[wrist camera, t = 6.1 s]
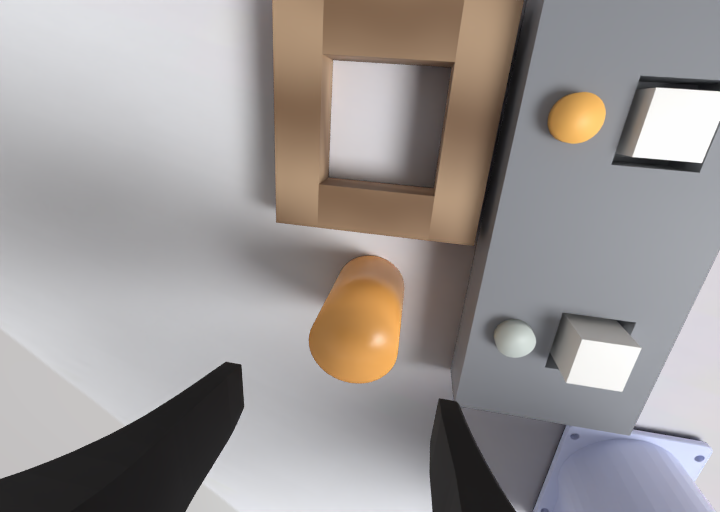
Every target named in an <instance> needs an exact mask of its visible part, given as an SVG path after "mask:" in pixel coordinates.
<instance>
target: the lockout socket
mask: <svg viewBox="0 0 720 512" xmlns="http://www.w3.org/2000/svg"><path fill="white" fill-rule="evenodd" d="M523 2H524V0H272V14H273V69H274V125H275V180H276V222H277V223H285V224H294V225H302V226H310V227H319V228H327V229H335V230H344V231H352V232H360V233H369V234H377V235H386V236H394V237H402V238H411V239H419V240H427V241H436V242H444V243H453V244H461V245H469V246H474V243H475V238H476V233H477V228H478V223H479V218H480V213H481V208H482V204H483V199H484V194H485V189H486V184H487V179H488V174H489V169H490V164H491V159H492V154H493V150H494V145H495V140H496V135H497V130H498V125H499V120H500V115H501V110H502V105H503V100H504V96H505V91H506V86H507V81H508V76H509V71H510V66H511V61H512V56H513V51H514V47H515V42H516V37H517V32H518V27H519V22H520V17H521V12H522V7H523ZM333 60H340V61H356V62H372V63H389V64H405V65H421V66H438V67H452V68H451V75H450V81H449V88H448V95H447V101H446V108H445V115H444V122H443V128H442V135H441V142H440V148H439V155H438V162H437V169H436V175H435V182H434V188H427V187H417V186H407V185H397V184H387V183H377V182H368V181H358V180H348V179H338V178H329V151H330V124H331V97H332V71H333Z"/></svg>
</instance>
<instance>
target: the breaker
mask: <svg viewBox="0 0 720 512" xmlns="http://www.w3.org/2000/svg"><path fill="white" fill-rule="evenodd" d="M641 349H642V348H641V347H640V346H639V344H638V343H637V342H636V341H635V340H634V339H633V338H632V337H631V336H630V335H629V334H628V333H627V331H626V330H625V329H624V328H623V327H622V326H621V325H620V324H619V323H618V322H617V321H616V320H614V319H607V318H599V317H592V316H585V315H578V314H570V313H562V316H561V319H560V322H559V325H558V329H557V332H556V335H555V338H554V341H553V344H552V347H551V350H550V353H551V355H552V357H553V359H554V361H555V363H556V365H557V366H558V368H559V370H560V372H561V374H562V376H563V378H564V380H565V382H566V383H570V384H576V385H582V386H588V387H595V388H601V389H607V390H613V391H620V392H622V391H623V389H624V387H625V385H626V382H627V380H628V378H629V376H630V373H631V371H632V369H633V367H634V364H635V362H636V360H637V358H638V355H639V353H640V351H641Z"/></svg>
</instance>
